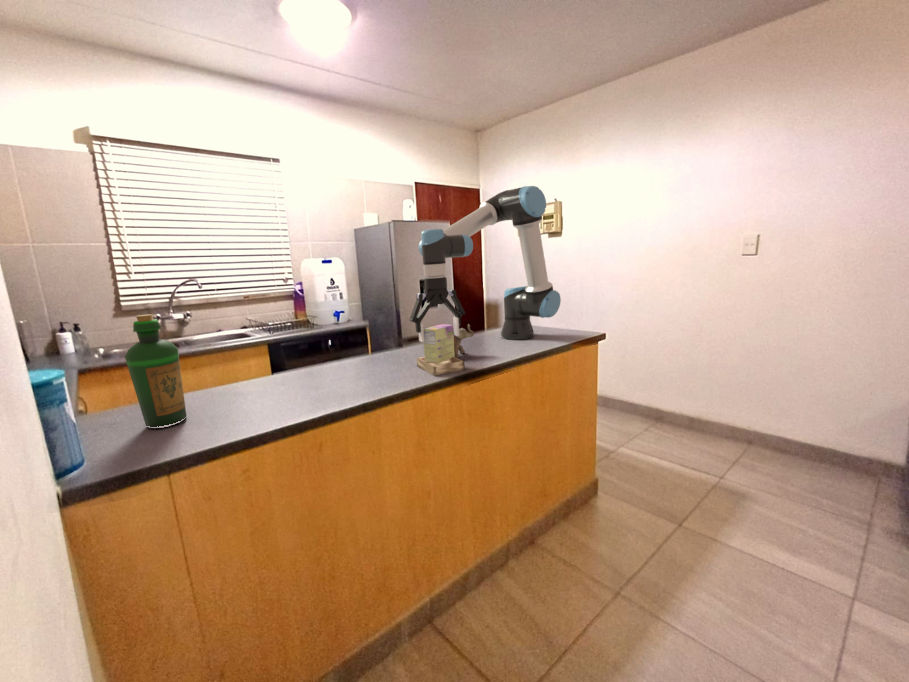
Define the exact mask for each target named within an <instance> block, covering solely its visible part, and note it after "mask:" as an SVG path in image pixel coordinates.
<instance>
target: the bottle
mask: <svg viewBox="0 0 909 682" xmlns="http://www.w3.org/2000/svg"><path fill="white" fill-rule="evenodd" d="M153 316H154V315H153V314H152V313H151V314H150V313H149V314H148V313H147V314H139V315H136V316H135V317H136V319H137V320H136V321H133V324H132V325H133V326H132V329H133V330H132V332H135V334H136V335H137V339H138V342H136V343H134V344H133V345H132V346H131V347H129V348H128V350H127V352H126V354H125V355H124V358H125V359H124V360H125V362H126V366H127V369H128V372H129V375H130V376H129V377H130V378H131V382H132V385H133V388H134V391H135V394H136V398H137V401H138V403H139V408H140V411H141V414H142V417H143V421H144V423H145V427H146V426H150V427H157V426H158V427H159V426H164V425H169V424H173V423H176V422H178V421H181V420H182V419H184V418H185V417H186V416H187V409H186V402H185V395H184V394H185V393H184V387H183V385H184V384H183V378H182V372H181V362H180V356H179V348H178V346H177V345H175V344H174V343H173V342H171V341H168V340H166V339H161V338H160V331H159V330H160V329H162V327H161V324H160V323H159V320H158V319H157V318H153ZM186 418H187V417H186Z"/></svg>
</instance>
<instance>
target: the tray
mask: <svg viewBox="0 0 909 682" xmlns="http://www.w3.org/2000/svg"><path fill="white" fill-rule="evenodd" d="M465 366H466V365H465V360H462V359H459V357H458V358H455V357H454V358H450V359H448V360H445V361H443V362H440V363H438V364H436V363H429V362H425V356H422V357H421V356H420V357H417V358H416V367H418V368H419V369H421V370H423V371H425V372H427V373H428V372H429V373H428V374H430V375H431V376H434V377H435V376H436V377H437V376H440V374H441V375H446V374H451V373H455V371H456V372H460V370H461V371H465V370H466V367H465ZM464 369H465V370H464Z"/></svg>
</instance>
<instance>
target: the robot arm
mask: <svg viewBox="0 0 909 682" xmlns="http://www.w3.org/2000/svg"><path fill="white" fill-rule="evenodd" d="M546 208H547V200H546V197H545V194H544V192H543V190H541V189H540V188H539V187H538V186H536V185H528V186H527V185H526V186H521V187H518V188H512V189H509V190H508V189H507V190H504V191H501V192H499V193H496V194H495V195H494V196H493V195H492V197H490V198H489V199H487V200H485V201H484V202H482V203H481V204H480V205H479V208H477V209H476V210H474V211H473V212H471V213H469V214H468V215H466V216H464V217H462V218H461V219H459V220H457V221H456V222H454V223H453V224H451V225H449V226H448V227H446V228H444V229H441V228H436V229H435V228H431V229H430V228H429V229H423V230H422V231H421V235H420V236H421V238H420V239H421V240H420V241H419V243H418V252H419V254H420V255H421V257H422V264H423V265H422V267H423V276H424V277H425V278H424V290H425V291H424V293H420V292H417V293H416V299H415V300H416V301H415V302H414V306H413V308H412V311H411V314H410V317H409V322H411V323H414V324H415V332H416V333H418V341H419V342H421V343H424V330H423V329H424V323H423V322H422V321H423V319H424V318H425V316H426V315H427V313H428V311H429V310H430V308H431V307H432V306H438V305H444V306H445V307H446V309H448V310H449V312H451V313H452V314H453V317H452V322H453V324H452V325H453V328H454V335H456V336H460V335H459V329H460V327H461V325H462V323H461V321H462V320H461V318H462V317H463V316H464V315H466V311H465V310H464V307H463V306H462V304H461V301H460V300H459V297H458V295H457V291H456V289H451V288H450V289H449V290H448V280H447V277H446V276H447V267H446V266H447V264H446V261H447V260H446V259H447V258H464V257H469V256H470V255H471V254H472V252H473V250H474V242H473V239H472V236H473V235H475V234H476V233H478V232H480V231H481V230H483V229H484V228H486V227H488V226H494V225H495V224H497V223H500V222H506V221H512V226H513V227H514V228H515V229H517V232H518V233H517V234H518V238H519V244H520V249H521V254H522V256H521V257H522V261H523V265H524V266H523V267H524V271H525V275H526V276H525V278H526V281H527V286H526V285H525V286H519V287H518V286H517V287H510V288H506V289H505V290H504V293H503V307H504V308H503V309H504V311H503V313H504V314H503V315H504V321H503V325H502V328H501V331H500V336H502V337H504V338H508V339H507V340H511V339H523V340H530V339H532V338H534V336H535V331H534V328H533V325H532V322H531V317H537V318H542V319H543V318H549V319H550V318H552V317H554V316H555V315H556V314H557V313H558V311H559V309H560V307H561V301H562V300H561V294H560V292H559V291H557V290H556V289H555V290H554V287H553V286H554V285H553V283H551V282H550V281H549V278H548V272H547V265H546V260H545V254H544V248H543V240H542V233H541V228H540V223H541V222H542V221H543V215H544V214H545V213H546ZM448 296H449V297H450V299H451V301H452V303H453V304H454V305H453V304H452V303H451V302H450V301H449V299H448ZM425 299H426V301H424V300H425ZM423 301H424V305H423V307H421V306H422V304H423ZM502 337H501V338H502ZM504 338H503V339H504ZM529 338H530V339H529Z"/></svg>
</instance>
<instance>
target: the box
mask: <svg viewBox="0 0 909 682" xmlns="http://www.w3.org/2000/svg"><path fill="white" fill-rule="evenodd" d="M453 328H454V325H453V324H447V323H446V324H444V323H440V324H437V325H433V326H429V327H426V328H423V330H424V342H423V349H424V351H423V352H424V353H423V354H424V357H425V362H429V363H436V364H438V363H440V362H443V361H445V360H448V359H450V358H454V357H455V353H454V335H453Z"/></svg>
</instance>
